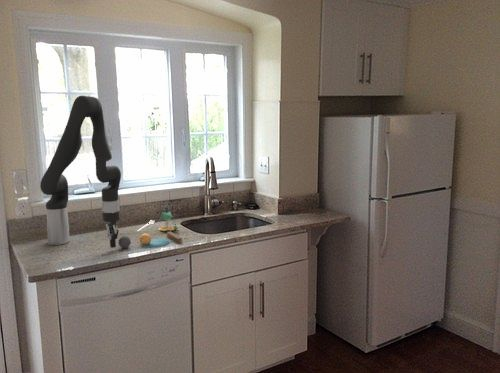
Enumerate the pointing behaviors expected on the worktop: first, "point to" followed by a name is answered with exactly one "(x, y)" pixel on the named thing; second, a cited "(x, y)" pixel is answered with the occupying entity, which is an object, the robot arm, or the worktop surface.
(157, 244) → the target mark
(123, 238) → the dark grey ball
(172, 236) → the wall
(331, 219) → the worktop surface
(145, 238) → the object ball
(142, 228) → the fork
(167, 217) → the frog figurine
